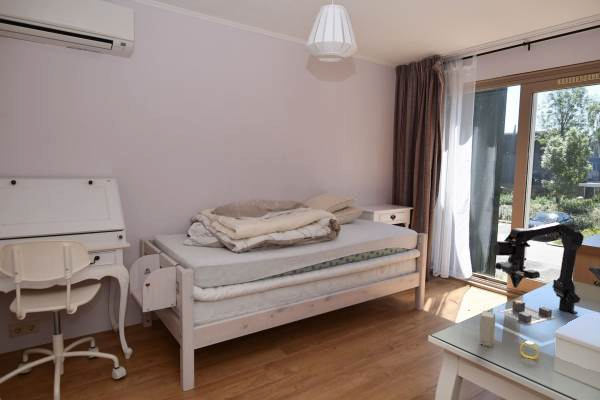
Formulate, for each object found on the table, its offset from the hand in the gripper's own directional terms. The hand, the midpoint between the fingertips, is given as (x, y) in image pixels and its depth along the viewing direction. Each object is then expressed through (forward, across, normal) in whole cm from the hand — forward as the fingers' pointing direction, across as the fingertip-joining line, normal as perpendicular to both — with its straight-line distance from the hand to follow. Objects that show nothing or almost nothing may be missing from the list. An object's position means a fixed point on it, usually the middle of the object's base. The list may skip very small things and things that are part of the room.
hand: (515, 287), depth 176 cm
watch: (+13, +29, -34) cm, 46 cm away
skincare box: (+13, +15, -38) cm, 43 cm away
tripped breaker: (+11, +2, 0) cm, 11 cm away
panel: (+12, +6, 0) cm, 14 cm away
